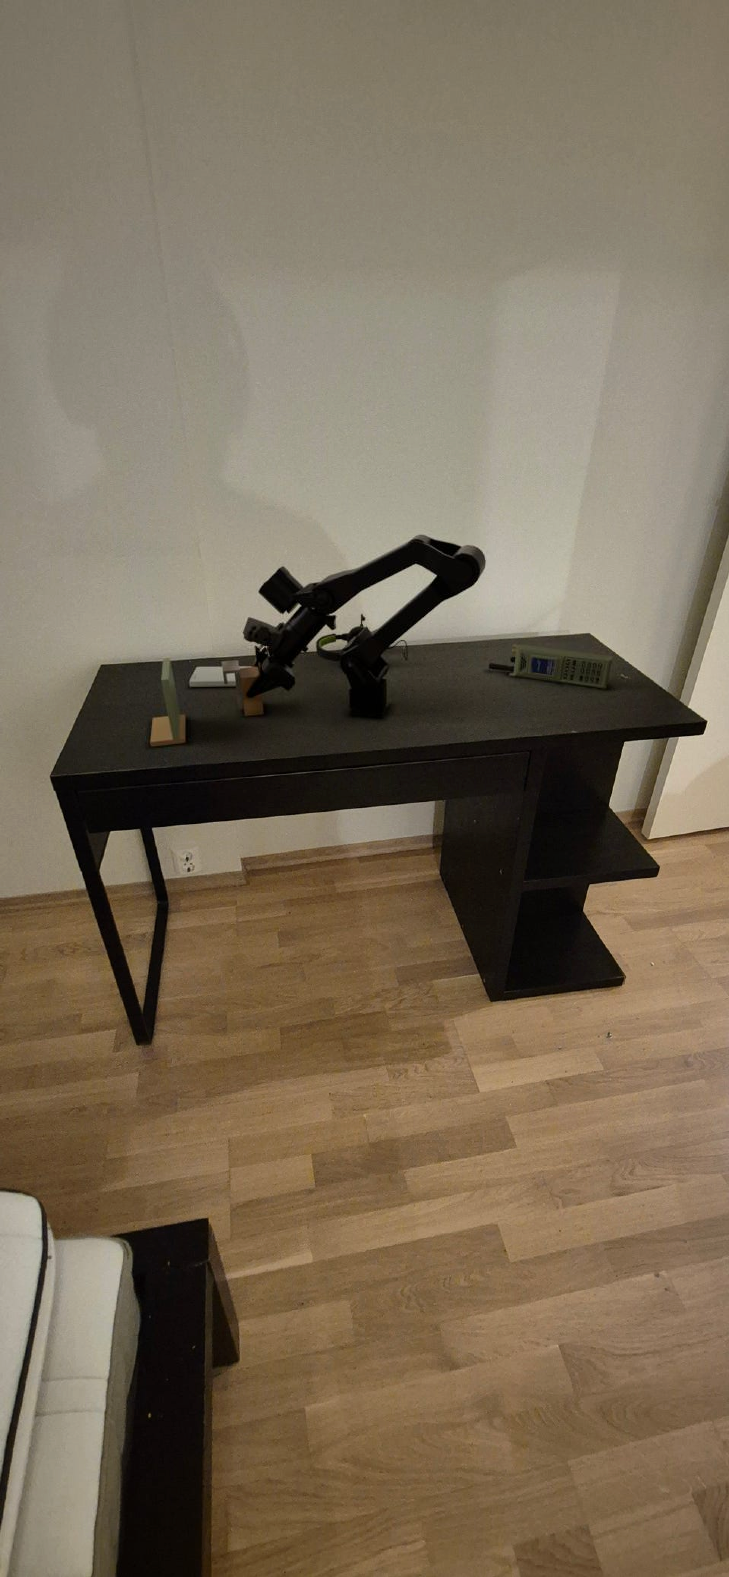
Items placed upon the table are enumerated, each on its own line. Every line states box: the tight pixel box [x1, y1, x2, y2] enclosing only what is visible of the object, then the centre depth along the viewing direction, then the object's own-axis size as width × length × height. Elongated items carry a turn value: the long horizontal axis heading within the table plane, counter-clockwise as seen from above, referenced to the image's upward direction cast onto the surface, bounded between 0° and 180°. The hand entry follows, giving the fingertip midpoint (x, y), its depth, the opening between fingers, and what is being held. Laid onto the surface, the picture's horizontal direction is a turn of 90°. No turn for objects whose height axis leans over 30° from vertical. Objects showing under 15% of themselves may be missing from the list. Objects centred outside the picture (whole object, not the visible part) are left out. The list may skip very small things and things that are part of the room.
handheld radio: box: [488, 643, 613, 690], centre depth 140 cm, size 7×3×25 cm
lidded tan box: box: [221, 659, 264, 717], centre depth 128 cm, size 7×5×10 cm
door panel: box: [149, 658, 187, 747], centre depth 119 cm, size 6×10×12 cm, turn 13°
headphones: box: [315, 613, 409, 662], centre depth 150 cm, size 16×10×20 cm
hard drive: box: [189, 666, 249, 688], centre depth 143 cm, size 2×8×12 cm
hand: (246, 691), depth 128 cm, fingers closed on lidded tan box, 5 cm apart
